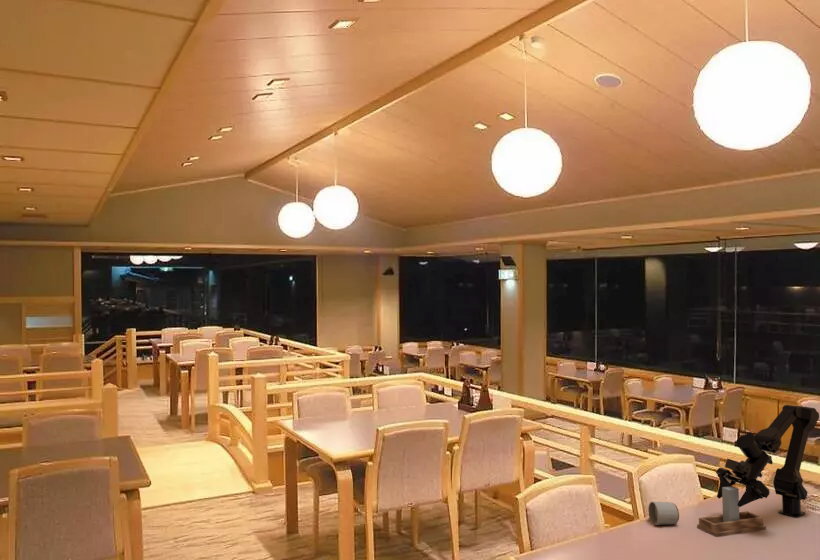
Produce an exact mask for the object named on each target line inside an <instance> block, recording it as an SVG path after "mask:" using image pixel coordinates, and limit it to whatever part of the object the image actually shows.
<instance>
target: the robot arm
mask: <svg viewBox="0 0 820 560" xmlns="http://www.w3.org/2000/svg"><path fill="white" fill-rule="evenodd" d="M819 419H820V413H819V412H818V411H817V409H816V408H815V407H810V406H804V405H803V406H802V405H792V404H786V405H785V404H783V406H782V410H781V411H780V413H778V415H777V416H776V417H775V418H774V419H773V421H772V422H771V423H770V424H769V426H768V427H767V428H764V429H760V430H759V431H758V432H756V433H755V434H754V433H753V432H749V431H747V432H746V434H743V435H741V436H739V437H738V438H737V439H736V442H735V443H736V446H737V447H738V449H739V450H740V451H741V453H743V455H744V457H745V458H746V459H745V460H740V461H737V460H733V459H731V458H728V457H727V459H726V461H725V465H724V468H723V467H718V468H717V470H716V471H715V474H716V475H717V477H718V478H719V487H718V489H717V490H718V491H717V495H716V497H717V498H718V499H720V500H721V498H722V487H730V486H734V485H736V483H737V484H739V485H741V486H744V487H745V491H744V493H743V494H742V495H741V497H740V498H739V502H738V504H737V505H738V506H739V508H741V507H743V506H746V505H747V504H749V503H751V502H754V501H758V500H760V499H761V500H763V498H765V499H767V498H768V497H769V496H770V489H769V488H768V487H767V486H766V484H765V483H764V482H763V481H761V480H758V477H759V478H762V477H763V474H762V472H763V470H764V469H765V468H766V466H767V464H769V465H773V464H774V463H773V462H774V461H773V459H772V458H773V457H772V456H771V455H769V454H768V453H773V454H776V453H777V452H778V450H779V449H780V447H781V445H782V437H783V436H784V435H785V433H786V432H787V431H788V430H789V428H790V427H791V426H792V432H791V436H790V439H789V444H788V448H787V452H786V455H785V460H784V464H783V466H782V467H780V468H777V469H776V470H775V475H774V477H773V482H772V484H773V488H774V493H775V495H778V496H781V500H782V501H781V502H782V503H781V504H782V506H781V507H782V509H780V510H778V511H777V512H778V514H782V515H786V516H788V517H794V518H800V517H801V516H803V515H806V512H805V511H802V504H801V503H802V502H801V501H805V500H806V499H807V498H808V494H809V493H808V491H807V489H806V488H805V487H804V485H803V477H802V474H801V472H800V469H801V466H802V461H803V458H804V455H805V454H804V453H805V449H806V445H807V441H808V437H809V433H810V432H811V431H813V430H814V429H815V428H816V427H817V424H818V421H819ZM729 469H730V470H731V471H730V470H729Z"/></svg>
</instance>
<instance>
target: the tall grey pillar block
mask: <svg viewBox="0 0 820 560" xmlns="http://www.w3.org/2000/svg"><path fill="white" fill-rule="evenodd" d="M739 491H740V490H739V488H738V487H735V486H734V485H732V486H730V487H722V497H721V498H722V501H721V502H722V515H723V522H728V521H735V520H739V512H740V507H739V506H738V505H737V504H738V502H739V500H740V495H739V494H740V492H739Z"/></svg>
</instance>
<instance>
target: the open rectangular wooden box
mask: <svg viewBox="0 0 820 560" xmlns="http://www.w3.org/2000/svg"><path fill="white" fill-rule="evenodd" d="M764 521H765V520H764V517H762V516H760V515H757V514H754V512H750V511H747V510H745V511H739V520H735V521H728V522H723V514H717V515H713V516H712V515H711V516H705V517H699V518H698V523H697V524H696V528H697V529H700V530H702V531H704V532H706V533H708V534H710V535H711V536H714V537H716V538H719V537H725V536H731V535H738V534H745V533H753V532H759V531H760V532H761V531H765V530H767V526H766V525H764V524H765V522H764Z"/></svg>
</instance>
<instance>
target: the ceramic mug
mask: <svg viewBox="0 0 820 560" xmlns="http://www.w3.org/2000/svg"><path fill="white" fill-rule="evenodd" d="M647 508H648V509H647V510H648V511H647V512H648V517H649V521H650V522H651V524H652V525H653V526H664V525H665V526H666V525H676V524H677V523H678V522H679V520H680V512H679V508H678V506H677V505H676V504H675V503H674V502H671V501H670V502H669V501H654V500H653V501H650V502H649V504H648V507H647Z"/></svg>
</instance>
